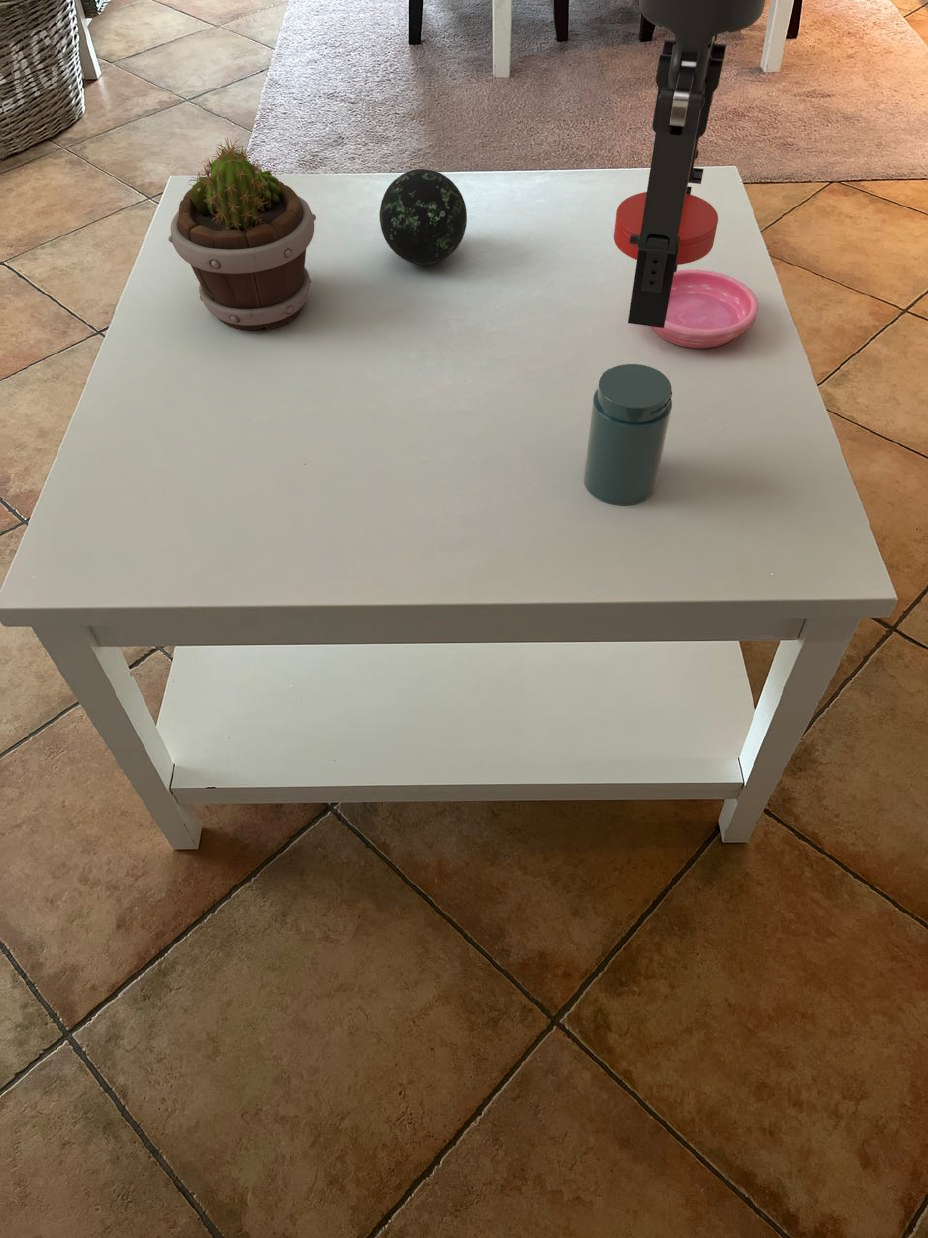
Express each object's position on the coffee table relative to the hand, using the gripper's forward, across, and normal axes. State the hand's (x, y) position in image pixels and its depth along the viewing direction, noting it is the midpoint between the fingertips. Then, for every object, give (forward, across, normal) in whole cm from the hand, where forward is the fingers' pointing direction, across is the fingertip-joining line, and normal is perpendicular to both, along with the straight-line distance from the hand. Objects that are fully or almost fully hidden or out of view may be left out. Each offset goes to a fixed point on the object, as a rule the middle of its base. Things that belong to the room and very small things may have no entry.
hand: (653, 293), depth 71 cm
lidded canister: (+18, +2, 0) cm, 18 cm away
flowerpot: (+18, -17, -44) cm, 50 cm away
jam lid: (-6, 0, 0) cm, 6 cm away
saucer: (+18, -25, +4) cm, 31 cm away
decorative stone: (+18, -31, -28) cm, 46 cm away
